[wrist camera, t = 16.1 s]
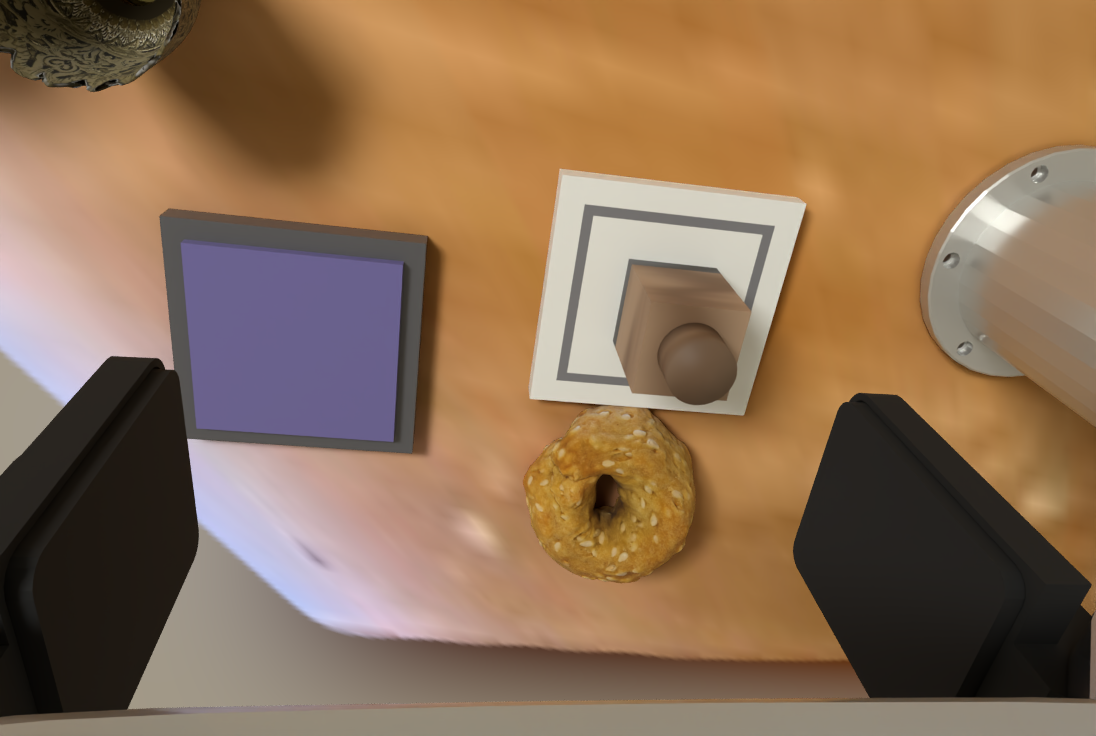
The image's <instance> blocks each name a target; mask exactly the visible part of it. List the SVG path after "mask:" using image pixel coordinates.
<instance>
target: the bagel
mask: <svg viewBox="0 0 1096 736" xmlns="http://www.w3.org/2000/svg"><path fill="white" fill-rule="evenodd" d="M602 474H607V475H611V476H612V477H613V479H614V481H615V482H616V483H618V484H617V491H618V493H619V495H620V496H619V497H618V499H617V500H616V504H615V506H614V507H609V506H603V507H600V508H594V504H595V502H596V482H597V480H598V479H599V478H600V476H601V475H602ZM692 474H693V468H692V460H691V456H690V453H689V451H688V449H687V447H686V446H685V445H684V443H683V442H681V441H680V440H678V439H676V438H675V437H674V435H672V434H671V433H670V432H669V431H668V430H667V429H666V427H665V426H664V425H663V424H662V422H661V421H660V420H659V419H658V418H656V417H655V416H654V415H653V414H652V413H651V411H650V410H649V409H648V408H641V407H628V406H615V405H602V406H598V407H595V408H587V409H585V410H584V411H582V412H581V413H580V414H579V415H578V416H577V418H576V419H575V420H574V421H573V422H572V424H571V427H570V428H569V430H568V431H567V433H566V434H565V436H564V438H562V437H560V438H559V439H557V440H554V441H553V442H552V443H551V444H550V445H546V446H545V448H544V450H543V453H542V454H541V455H540V456H539V457H538V458H537V459H536V461H535V462H534V463H533V464H532V465H531V466H530V467H529V470H528V471H527V473H526V474H525V477H524V480H523V485H524V488H525V492H526V502H527V506H528V509H529V512H530V517H531V526H532V527H533V529H534V531H535V533H536V536H537V538H538V539H539V544H540V545H541V546H542V547H543V548H544V550H545V551H546V553H548V555H549V556H550V557H551V558H552V559H553V560H554V561H556V562H557V563H558V564H559V565H560V566H562V567H563V568H565V569H567V570H568V571H570V572H572V573H574V574H576V575H579V576H581V577H583V578H587V579H591V580H594V579H599V580H601V581H611V582H616V583H630V582H635V581H637V580H638V579H639V578H640V577H642V576H647V575H649V574H651V573H652V571H653V570H654V569H656V568H658V567H660V566H661V565H662V564H663V563H666V562H667V561H668V560H670V558H671V557H672V556H673V555H674V554H675V553H678V552H680V551H681V550H682V548H683V547H684V546H685V539H686V536H687V534H688V530H689V528H690V525H691V523H692V521H693V514H694V510H695V498H696V496H695V487H694V479H693V476H692Z"/></svg>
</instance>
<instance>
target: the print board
mask: <svg viewBox="0 0 1096 736" xmlns="http://www.w3.org/2000/svg"><path fill="white" fill-rule="evenodd" d="M805 207H806V203H805V202H803V201H802V200H800V199H799V198H798V197H791V196H782V195H774V194H766V193H757V192H749V191H741V190H733V189H724V188H716V187H708V186H699V185H691V184H683V183H674V182H666V181H658V180H650V179H641V178H633V177H625V176H616V175H608V174H600V173H591V172H583V171H575V170H567V169H560V172H559V179H558V186H557V193H556V200H555V207H554V214H553V221H552V228H551V235H550V242H549V249H548V256H547V263H546V270H545V277H544V284H543V291H542V298H541V305H540V312H539V319H538V326H537V333H536V340H535V347H534V354H533V361H532V368H531V375H530V381H529V395H530V399H539V400H551V401H564V402H577V403H590V404H603V405H615V406H628V407H641V408H654V409H667V410H679V411H692V412H705V413H718V414H731V415H744V414H745V410H746V407H747V403H748V400H749V397H750V393H751V390H752V387H753V383H754V380H755V376H756V373H757V370H758V366H759V363H760V359H761V356H762V353H763V349H764V346H765V343H766V339H767V336H768V332H769V329H770V326H771V322H772V319H773V315H774V312H775V309H776V305H777V302H778V299H779V295H780V292H781V288H782V285H783V282H784V278H785V275H786V271H787V268H788V265H789V261H790V258H791V255H792V251H793V248H794V244H795V241H796V238H797V234H798V231H799V228H800V224H801V221H802V217H803V214H804V211H805ZM629 259H636V260H645V261H655V262H664V263H674V264H683V265H692V266H702V267H711V268H717V269H718V271H719V272H720V273H721V274H722V276H723V277H724V278H725V279H726V281H727V282H728V283H729V284H730V286H731V287H732V288H733V289H734V291H735V292H736V293H737V294H738V296H739V297H740V298H741V299H742V300H743V302H744V303H745V304H746V305H747V307H748V308H749V309H750V310H751V316H750V319H749V323H748V327H747V330H746V334H745V337H744V341H743V344H742V348H741V351H740V355H739V358H738V362H737V376H736V380H735V382H734V384H733V386H732V387H731V389H730V390H729V394H728V397H727V401H721V400H717V401H714V402H712V403H709V404H705V405H690V404H686V403H684V402H682V401H680V400H678V399H677V398H676V397H672V396H660V395H647V394H635V393H632V392H631V389H630V387H629V384H628V381H627V378H626V376H625V373H624V370H623V368H622V365H621V362H620V359H619V357H618V354H617V351H616V348H615V346H614V343H613V337H614V332H615V327H616V322H617V317H618V312H619V307H620V301H621V296H622V291H623V286H624V281H625V276H626V271H627V266H628V261H629Z"/></svg>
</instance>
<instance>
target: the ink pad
mask: <svg viewBox="0 0 1096 736" xmlns="http://www.w3.org/2000/svg"><path fill="white" fill-rule="evenodd" d="M160 227H161V237H162V247H163V258H164V268H165V278H166V289H167V299H168V309H169V320H170V330H171V340H172V351H173V361H174V370H175V371H176V372H177V374H178V376H179V380H180V387H181V395H182V403H183V411H184V419H185V427H186V434H187V439H202V440H217V441H232V442H247V443H262V444H277V445H292V446H306V447H321V448H336V449H351V450H366V451H381V452H396V453H411V454H412V450H413V443H414V429H415V415H416V400H417V385H418V370H419V355H420V341H421V326H422V311H423V296H424V281H425V266H426V252H427V237H428V236H424V235H414V234H405V233H395V232H386V231H376V230H367V229H357V228H348V227H338V226H329V225H319V224H310V223H301V222H291V221H282V220H272V219H263V218H253V217H244V216H234V215H225V214H215V213H206V212H196V211H187V210H178V209H168V210H166V211H165V212H164V213H163V214H161V215H160Z"/></svg>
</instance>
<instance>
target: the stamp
mask: <svg viewBox="0 0 1096 736" xmlns="http://www.w3.org/2000/svg"><path fill="white" fill-rule="evenodd" d="M750 316H751V310H750V309H749V308H748V307H747V305H746V304H745V303H744V302H743V300H742V299H741V298H740V297H739V296H738V294H737V293H736V292H735V291H734V289H733V288H732V287H731V286H730V284H729V283H728V282H727V281H726V279H725V278H724V277H723V276H722V274H721V273H720V272H719V271H718V269H717V268H711V267H702V266H692V265H683V264H674V263H664V262H655V261H645V260H636V259H629V261H628V266H627V271H626V276H625V281H624V286H623V291H622V296H621V301H620V307H619V312H618V317H617V322H616V327H615V332H614V337H613V343H614V346H615V348H616V351H617V354H618V357H619V359H620V362H621V365H622V368H623V370H624V373H625V376H626V378H627V381H628V384H629V387H630V389H631V392H632V393H635V394H647V395H660V396H672V397H676V398H677V399H678V400H680V401H682V402H684V403H686V404H690V405H705V404H709V403H712V402H714V401H717V400H721V401H727V397H728V394H729V390H730V389H731V387H732V386H733V384H734V382H735V380H736V376H737V362H738V358H739V355H740V351H741V348H742V344H743V341H744V337H745V334H746V330H747V327H748V323H749V319H750Z"/></svg>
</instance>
